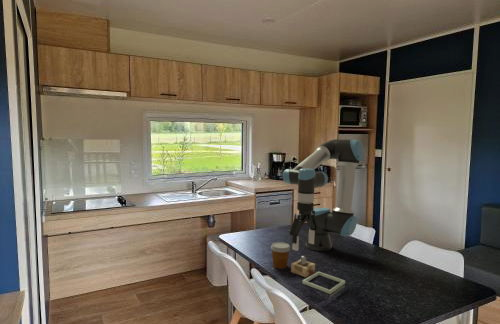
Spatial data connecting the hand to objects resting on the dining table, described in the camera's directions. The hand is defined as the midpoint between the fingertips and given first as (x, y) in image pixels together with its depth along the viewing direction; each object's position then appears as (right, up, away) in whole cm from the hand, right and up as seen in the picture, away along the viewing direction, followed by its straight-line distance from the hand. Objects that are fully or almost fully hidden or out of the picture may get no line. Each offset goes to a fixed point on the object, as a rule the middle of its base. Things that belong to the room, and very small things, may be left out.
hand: (303, 246), depth 149 cm
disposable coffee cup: (-10, -13, +8) cm, 19 cm away
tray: (+7, -15, -10) cm, 19 cm away
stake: (0, -14, +1) cm, 14 cm away
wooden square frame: (0, -12, +1) cm, 12 cm away
